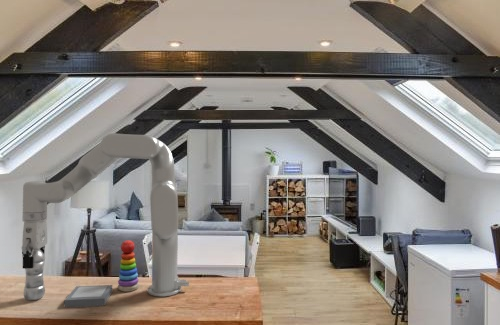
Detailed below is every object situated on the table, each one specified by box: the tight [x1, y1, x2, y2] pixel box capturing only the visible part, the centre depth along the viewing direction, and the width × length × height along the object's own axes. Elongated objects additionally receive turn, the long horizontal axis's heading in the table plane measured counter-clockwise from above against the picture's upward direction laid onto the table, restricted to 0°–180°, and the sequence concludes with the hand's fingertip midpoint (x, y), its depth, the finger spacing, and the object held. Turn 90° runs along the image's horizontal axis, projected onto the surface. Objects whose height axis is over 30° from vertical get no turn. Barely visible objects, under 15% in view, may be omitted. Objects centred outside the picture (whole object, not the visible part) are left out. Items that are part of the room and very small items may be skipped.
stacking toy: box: [117, 239, 140, 292], centre depth 145 cm, size 8×8×19 cm
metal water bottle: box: [23, 249, 46, 301], centre depth 133 cm, size 6×7×20 cm
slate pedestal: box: [64, 284, 113, 308], centre depth 134 cm, size 13×13×3 cm
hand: (33, 263), depth 133 cm, fingers open, 9 cm apart
